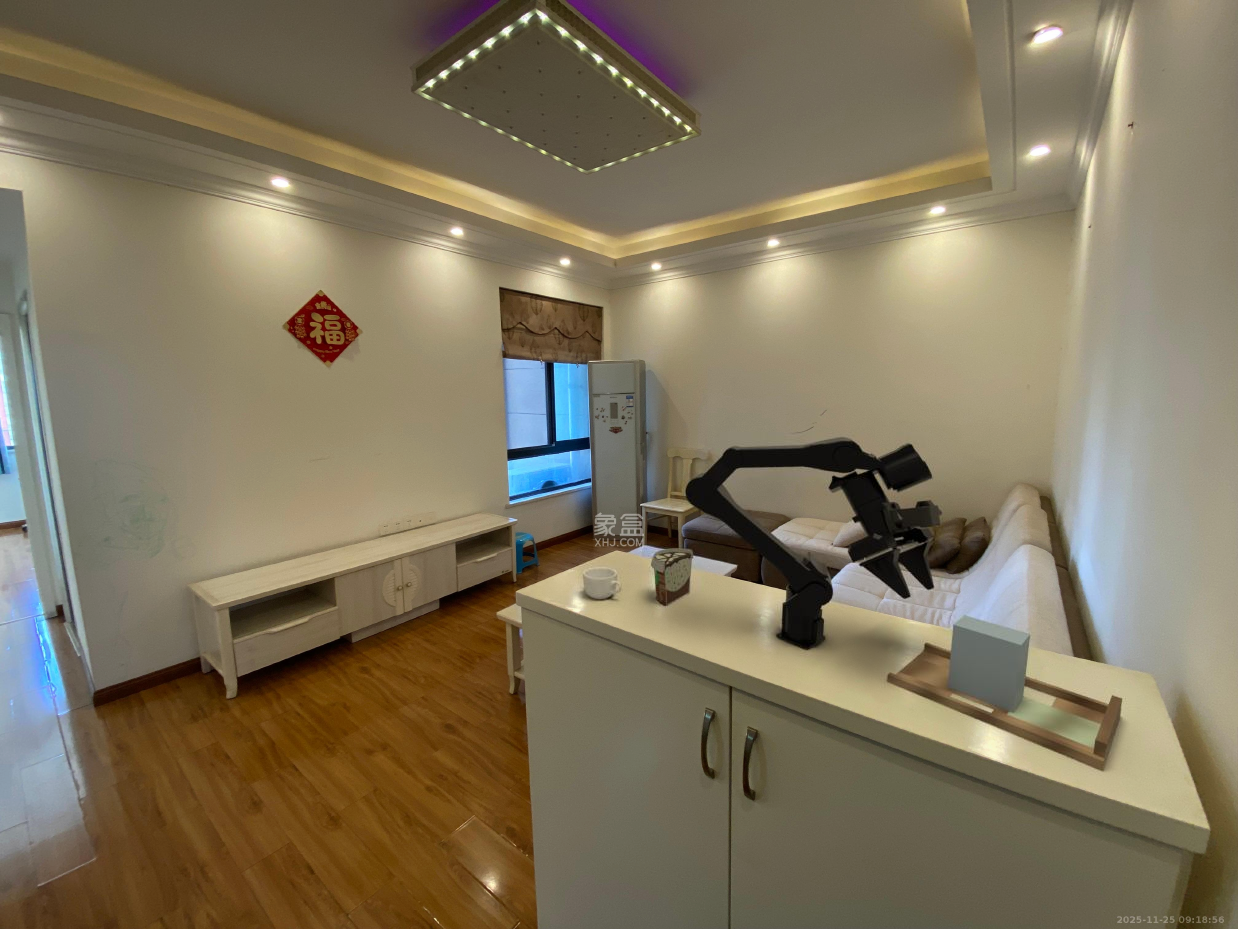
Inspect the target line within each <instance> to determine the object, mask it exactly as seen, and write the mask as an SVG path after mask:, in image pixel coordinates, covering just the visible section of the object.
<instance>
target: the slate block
mask: <svg viewBox="0 0 1238 929" xmlns="http://www.w3.org/2000/svg"><path fill="white" fill-rule="evenodd" d="M1030 640H1031V633H1028V632H1025V631H1023V630H1022V631H1021V630H1018V629H1014V628H1011V627H1008V626H1007V627H1006V626H1004V625H1000V624H996V623H993V622H989V621H986V620H982V619H979V618H976V617H972V616H969V615H963V616H961V617H960V618H959V619H958V620H957V621H955V623H953V624H952V634H951V647H950V651H951V655H950V666H949V677H948V687H947V688H950V689H953V690H955V691H958V692H960V693H963V694H965V695H968V696H971V697H973V698H976V699H978V700H981V701H983V702H986V703H989V704H991V705H994V706H996V707H999V708H1001V709H1004V710H1007V711H1009V712H1012V713H1014V712H1015V710H1016V709H1017V707H1018V706H1019V704H1020V703H1021V701H1022V700H1023V696H1024V692H1025V686H1024V685H1025V676H1026V674H1027V666H1028V658H1029V648H1030Z"/></svg>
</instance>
